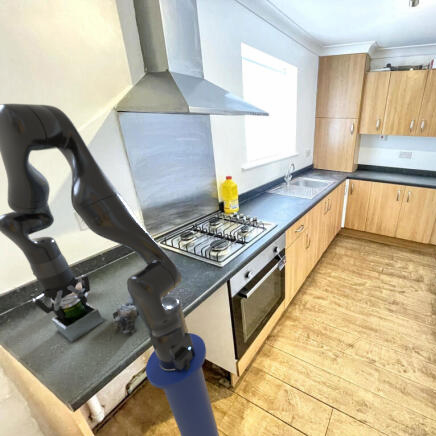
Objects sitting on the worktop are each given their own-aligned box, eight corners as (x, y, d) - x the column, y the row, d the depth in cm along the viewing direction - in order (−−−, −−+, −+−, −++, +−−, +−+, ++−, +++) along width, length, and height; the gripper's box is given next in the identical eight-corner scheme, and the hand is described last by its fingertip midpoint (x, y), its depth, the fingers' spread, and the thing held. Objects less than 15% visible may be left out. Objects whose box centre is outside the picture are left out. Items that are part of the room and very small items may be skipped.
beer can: (93, 317, 85) (80, 292, 80) (89, 329, 80) (75, 303, 75) (74, 323, 83) (60, 297, 78) (69, 335, 78) (54, 308, 73)
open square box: (103, 321, 83) (97, 308, 81) (72, 341, 76) (65, 328, 73) (89, 312, 87) (83, 300, 85) (58, 331, 80) (51, 318, 77)
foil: (161, 296, 90) (128, 305, 75) (154, 325, 89) (119, 339, 74) (136, 290, 92) (99, 297, 78) (129, 318, 91) (90, 331, 76)
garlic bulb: (92, 298, 94) (84, 283, 90) (71, 307, 90) (62, 291, 86) (90, 290, 98) (83, 275, 95) (70, 298, 94) (62, 282, 91)
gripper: (25, 287, 64) (51, 330, 71) (85, 260, 76) (103, 300, 83) (14, 279, 67) (40, 322, 74) (74, 255, 79) (91, 293, 86)
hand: (73, 310), depth 79 cm, fingers closed on beer can, 5 cm apart
